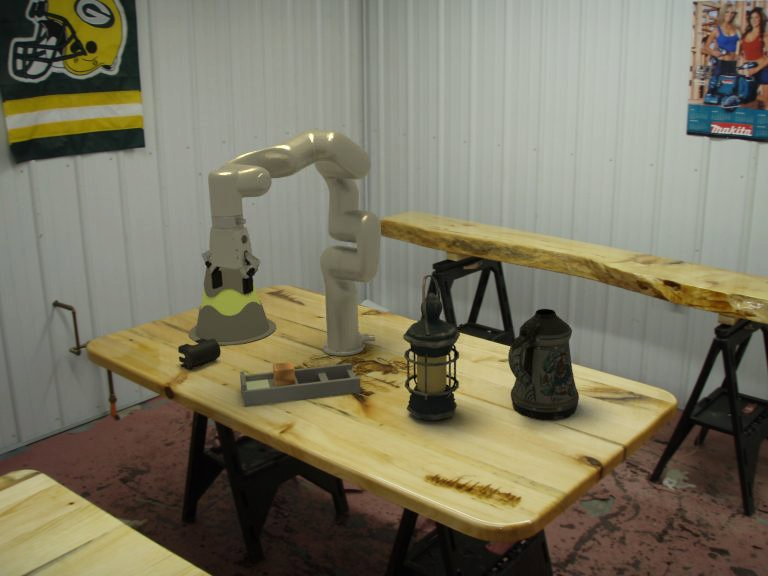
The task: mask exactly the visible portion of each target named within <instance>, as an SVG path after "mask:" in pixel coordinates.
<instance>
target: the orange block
mask: <svg viewBox="0 0 768 576" xmlns="http://www.w3.org/2000/svg"><path fill="white" fill-rule="evenodd" d="M272 372H273V374H274V383H275V387H278V386H287V385H295V367H294V364H293V362H292V361H287V362H278V363H272Z"/></svg>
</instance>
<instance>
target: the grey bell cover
mask: <svg viewBox="0 0 768 576" xmlns="http://www.w3.org/2000/svg"><path fill="white" fill-rule="evenodd" d="M245 270H246V268H245ZM219 271H221V272H222V281H223V286H222V287H219V288H217V289H213V288H212V278H211V273H209V269H208V268H207V266H206V268H205V274H204V281H203V292H202V296H201V297H202V298H201V304H200V307H199V309H198V316H197V322H196V325H195V326H193V327H192V328H191V329H190V330H189V332H188V338H189V339H190V340H191V341H192V342H195V341H196V340H199V339H202V338H203V339H206V340H210V339H215V340H216V341H217V342H218V344H219V346H236V345H243V344H249V343H253V342H257V341H259V340H262V339H265V338H268V337H269V336H271V335H272V334H273V333H274V332H275V331H276V330H277V324H276V323H275V321H274V320H272V319H269V318H267V315H266V311H265V309H264V306H263V304H262V301H261V300H260V298H259V295H258V292H257V289H256V286H255V283H254V282H253V292H250V293H248V294H244V293H243V285H242V278H244V276H243V275H242V273H241V272H240V270H234V269H227V268H220V270H219ZM246 271H247V270H246ZM247 272H248V271H247Z"/></svg>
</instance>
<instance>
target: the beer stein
mask: <svg viewBox="0 0 768 576" xmlns="http://www.w3.org/2000/svg"><path fill="white" fill-rule="evenodd" d="M518 333H519V334H518V336H517V337H516V338H515V339H514V340H513V341H512V343H511V345H510V348H509V350H508V356H507V360H508V365H509V368H510V371H511V373H512V375H513V376H514V377H515V381H514V383H513V387H512V388H511V390H510V398H511V404H512V407H513V410H514V411H515V412H516V413H518V414H520V415H521V416H524V417H526V418H529V419H533V420H537V421H538V420H539V421H560V420H565V419H567V418H570V417H571V416H573V415H574V414H575V413H576V411H577V408H578V404H579V400H580V394H579V390H578V389H577V386H576V382H575V377H574V372H573V365H572V355H571V346H570V339H571V337H572V334H573V329H572V327H571V326H570V324H568V323H567V322H566V321H565V320H563V319H562V318H561V317H559V316H558V315H557V314H556V311H555V310H554V309H550V308H540V309H537V310H536V311H535V313H534V315H533V316H531V317H530V318H529V319H527V320H526V321H525V322H523V324H522V325H521V326H520V327H519V332H518Z"/></svg>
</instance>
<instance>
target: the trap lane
mask: <svg viewBox="0 0 768 576" xmlns="http://www.w3.org/2000/svg"><path fill="white" fill-rule="evenodd" d="M294 369H295V368H294ZM239 377H240V390H241V395H242V396H241V397H242V401H243V402H242V403H243V406H244V408H246V407H253V406H255V407H256V406H262V405H270V404H276V403H277V404H279V403H285V402H295V401H302V400H303V401H304V400H311V399H317V398H318V399H319V398H329V397H337V396H344V395H349V394H350V395H351V394H352V395H353V394H361V377H360V376H357V375H356V374H355V372H354V371H353V364H352V362H348V363H341V364H332V365H331V364H330V365H323V366H322V365H321V366H313V367H312V366H311V367H306V368H304V367H303V368H298V369H295V385H287V386H278V387H275V383H274V374H273V371H270V372H260V373H252V374H245V371H239Z"/></svg>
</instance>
